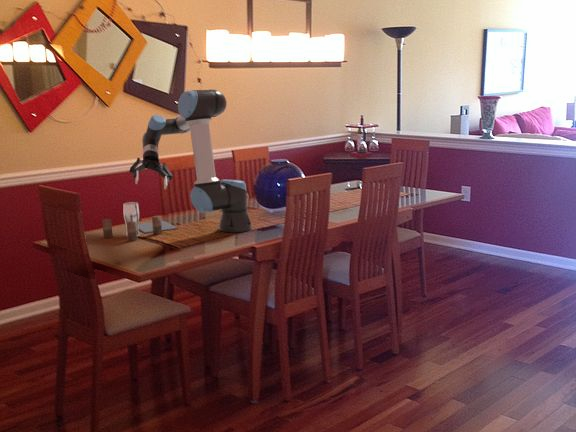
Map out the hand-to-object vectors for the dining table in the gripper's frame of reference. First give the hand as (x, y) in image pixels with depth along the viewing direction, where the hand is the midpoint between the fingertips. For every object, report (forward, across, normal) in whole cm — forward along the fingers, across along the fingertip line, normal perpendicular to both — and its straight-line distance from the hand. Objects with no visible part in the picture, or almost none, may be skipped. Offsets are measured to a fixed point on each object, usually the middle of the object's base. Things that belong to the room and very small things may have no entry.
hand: (151, 184), depth 327 cm
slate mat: (+6, -7, -21) cm, 23 cm away
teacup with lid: (-26, -56, -26) cm, 67 cm away
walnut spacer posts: (+21, +4, -14) cm, 26 cm away
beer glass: (+19, +5, -16) cm, 25 cm away
